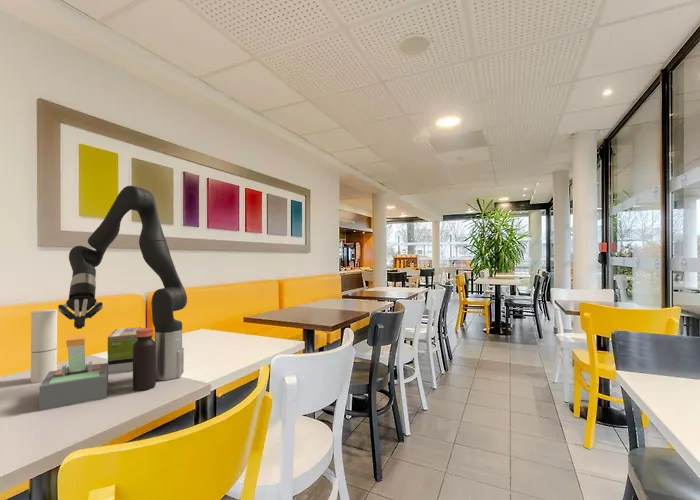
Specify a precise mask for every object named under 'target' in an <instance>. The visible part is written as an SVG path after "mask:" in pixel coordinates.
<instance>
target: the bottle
mask: <svg viewBox="0 0 700 500" xmlns="http://www.w3.org/2000/svg"><path fill="white" fill-rule="evenodd" d="M153 331H154V328H153V327H141V329H137V330H136V338H137V341H136V342H135V343H134V345H133V371H132V390H134V391H135V392H144V391H148V390H151V389H153V388H154V387H156V385H157V383H156V381H157V380H156V343H155V339H153V338H152V337H153V335H154V334H153V333H154V332H153Z"/></svg>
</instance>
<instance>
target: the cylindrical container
mask: <svg viewBox="0 0 700 500" xmlns="http://www.w3.org/2000/svg"><path fill="white" fill-rule="evenodd" d="M30 314H31V318H30V319H31V322H30V323H31V324H30V325H31V328H30V333H31V334H30V383H31V384H32V383H33V384H36V383H38V384H39V383H42V382H43V381H44V379H45V378H46V376H47V374H48V373H49V371H56V370H58V369H57V368H58V367H57V364H58V360H57V359H58V310H57V309H43V310H42V309H40V310H34V311H31V313H30Z"/></svg>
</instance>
